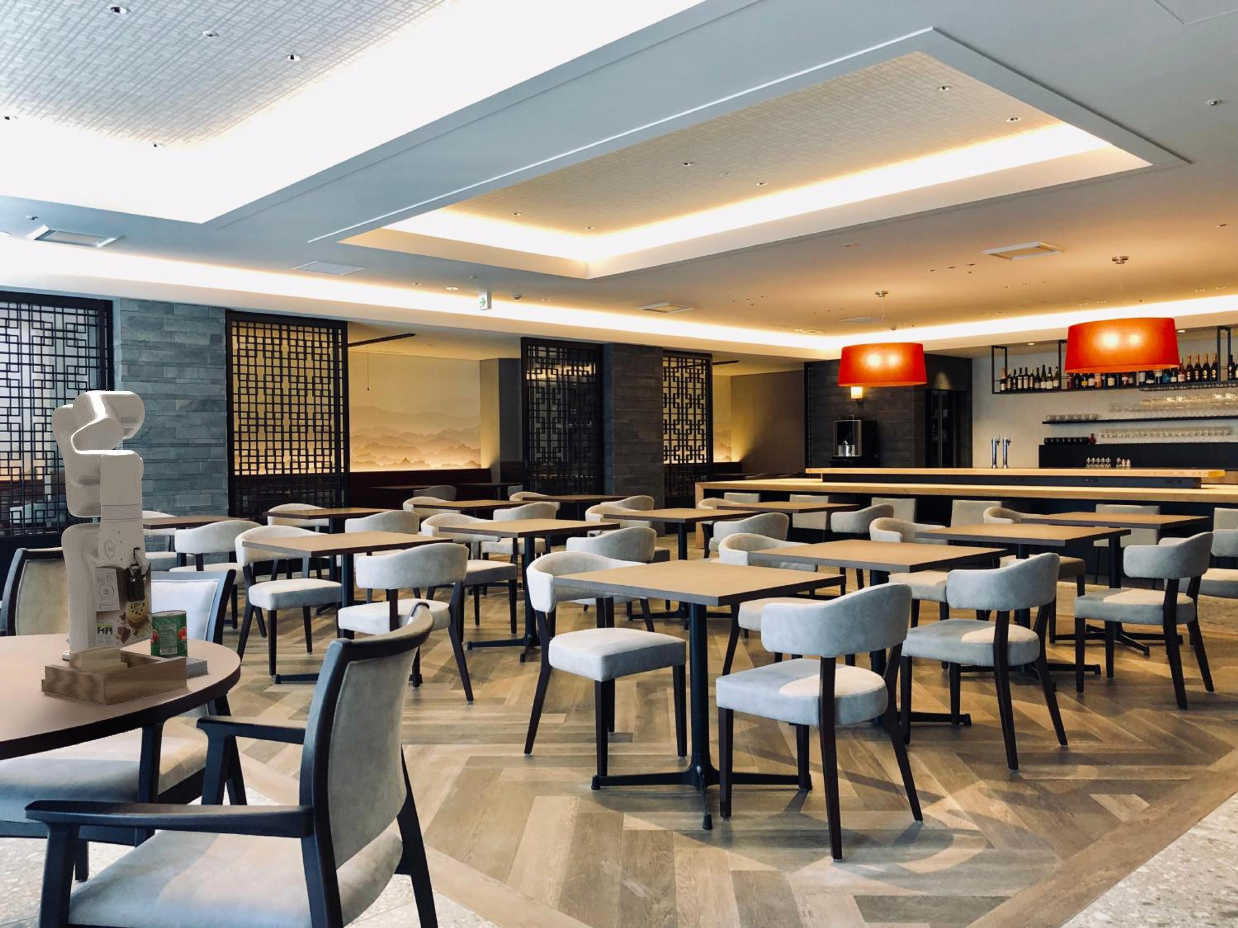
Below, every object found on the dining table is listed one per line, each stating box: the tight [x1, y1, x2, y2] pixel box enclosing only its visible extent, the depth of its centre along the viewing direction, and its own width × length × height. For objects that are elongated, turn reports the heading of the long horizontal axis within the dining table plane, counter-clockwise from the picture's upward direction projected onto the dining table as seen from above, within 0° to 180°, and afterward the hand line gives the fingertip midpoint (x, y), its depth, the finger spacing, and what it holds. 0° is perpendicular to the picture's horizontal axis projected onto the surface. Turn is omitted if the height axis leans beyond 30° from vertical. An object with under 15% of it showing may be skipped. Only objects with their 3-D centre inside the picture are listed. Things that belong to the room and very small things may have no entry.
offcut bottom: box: [87, 662, 127, 675], centre depth 204 cm, size 6×10×4 cm, turn 147°
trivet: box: [167, 656, 208, 677], centre depth 212 cm, size 10×8×2 cm
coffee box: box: [95, 561, 153, 649], centre depth 198 cm, size 9×6×16 cm
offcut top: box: [68, 647, 120, 671], centre depth 204 cm, size 5×8×4 cm, turn 145°
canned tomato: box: [149, 609, 189, 658], centre depth 225 cm, size 8×8×11 cm
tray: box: [40, 649, 188, 706], centre depth 200 cm, size 25×16×6 cm, turn 57°
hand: (124, 598), depth 198 cm, fingers closed on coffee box, 8 cm apart
